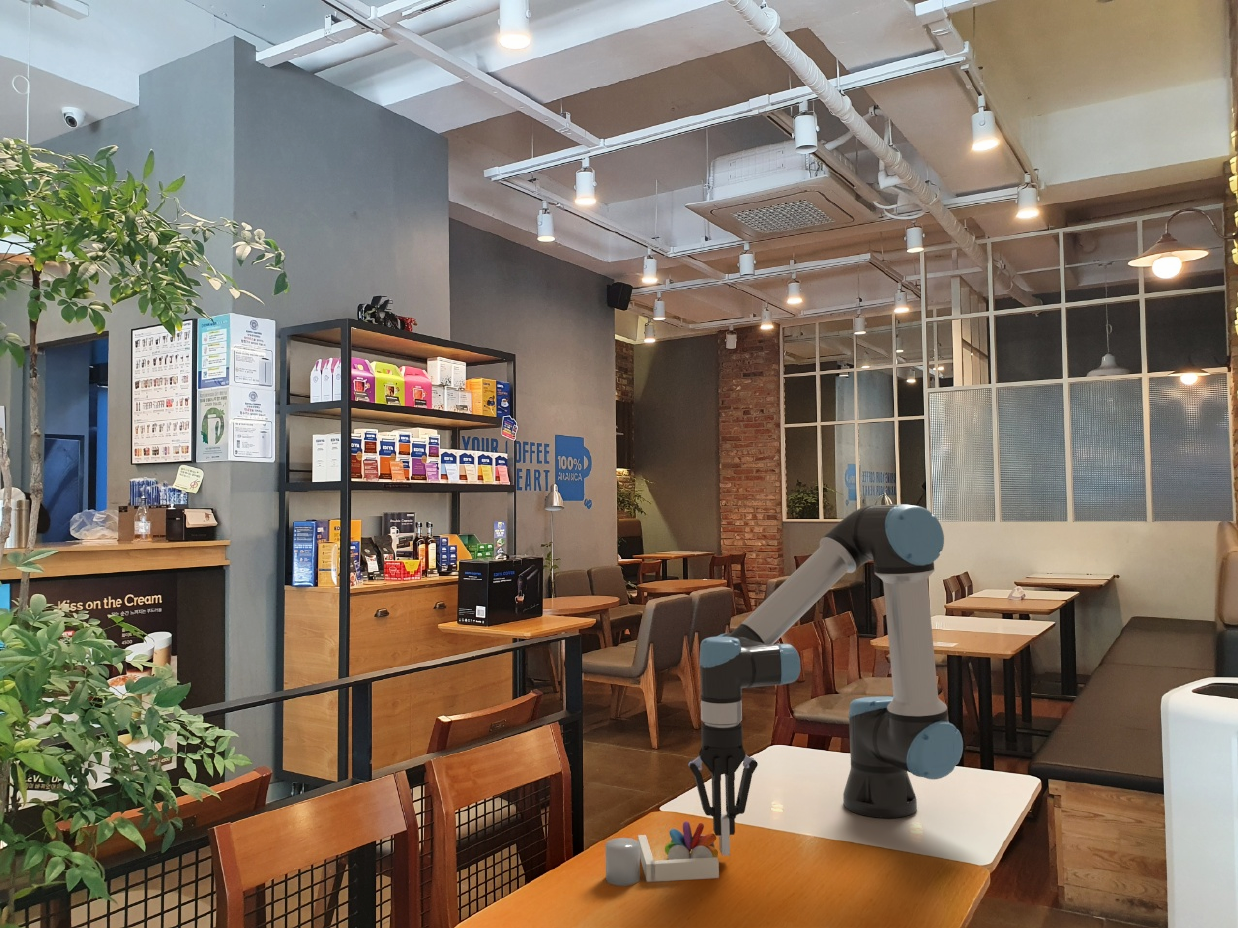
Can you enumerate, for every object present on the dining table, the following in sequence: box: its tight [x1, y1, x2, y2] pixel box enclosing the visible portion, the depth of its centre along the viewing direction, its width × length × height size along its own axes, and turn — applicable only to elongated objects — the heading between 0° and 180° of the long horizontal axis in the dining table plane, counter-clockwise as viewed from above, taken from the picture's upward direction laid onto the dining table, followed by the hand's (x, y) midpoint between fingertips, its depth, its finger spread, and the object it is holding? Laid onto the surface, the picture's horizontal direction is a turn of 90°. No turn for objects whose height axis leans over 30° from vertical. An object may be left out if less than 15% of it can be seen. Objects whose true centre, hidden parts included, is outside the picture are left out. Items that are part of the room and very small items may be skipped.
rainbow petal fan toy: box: [664, 820, 719, 860], centre depth 168 cm, size 8×10×7 cm
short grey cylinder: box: [604, 837, 641, 887], centre depth 161 cm, size 6×6×6 cm
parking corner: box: [637, 834, 720, 883], centre depth 167 cm, size 13×14×3 cm
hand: (724, 852), depth 168 cm, fingers closed
